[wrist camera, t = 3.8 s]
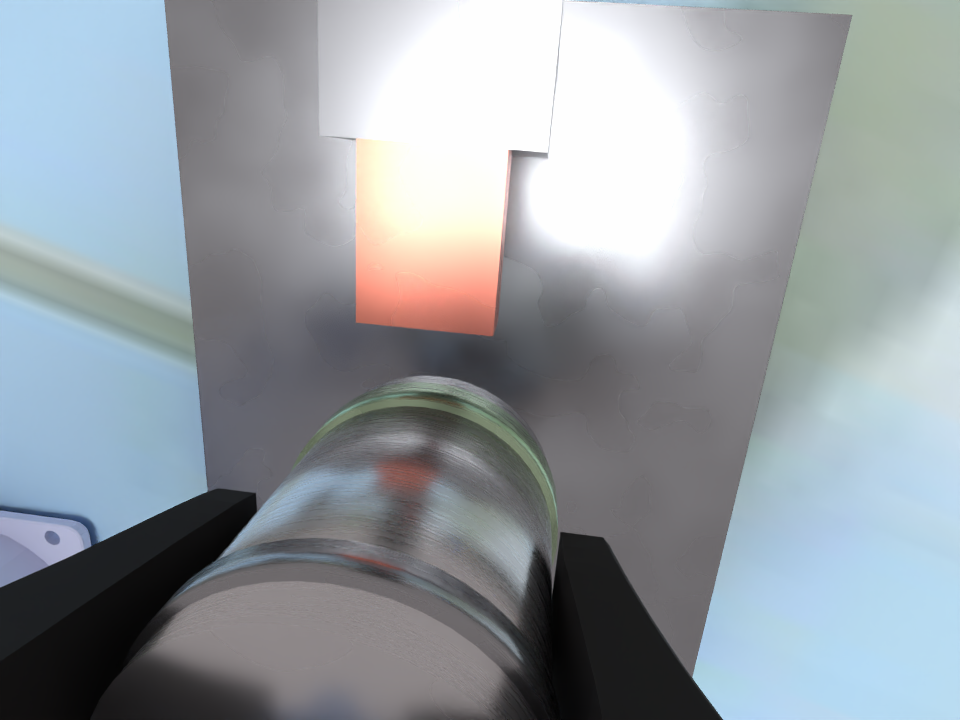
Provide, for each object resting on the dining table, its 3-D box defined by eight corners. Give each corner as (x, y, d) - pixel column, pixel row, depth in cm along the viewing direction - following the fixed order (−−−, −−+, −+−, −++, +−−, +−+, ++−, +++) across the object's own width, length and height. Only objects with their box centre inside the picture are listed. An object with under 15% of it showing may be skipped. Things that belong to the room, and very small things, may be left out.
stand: (245, 613, 20) (90, 841, 13) (201, -2, 14) (-116, -156, 7) (671, 675, 18) (740, 961, 12) (818, 32, 13) (1112, -117, 6)
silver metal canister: (317, 570, 12) (108, 933, 6) (313, 357, 10) (33, 580, 5) (543, 601, 12) (536, 1018, 6) (570, 384, 10) (598, 662, 4)
